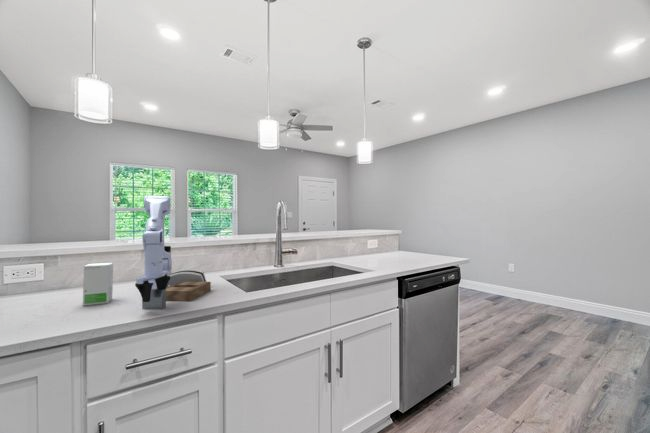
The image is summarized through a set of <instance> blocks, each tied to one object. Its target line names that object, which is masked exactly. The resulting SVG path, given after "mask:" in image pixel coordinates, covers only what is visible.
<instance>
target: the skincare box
mask: <svg viewBox="0 0 650 433" xmlns="http://www.w3.org/2000/svg"><path fill="white" fill-rule="evenodd" d="M113 279H114V263H113V262H104V263H103V262H98V263H96V262H95V263H88V264H85V265H84V266H83V279H82V280H83V285H82V287H83V289H82V290H83V291H82V306H84V307H85V306H93V305H102V304H104V305H105V304H108V303H110V302H111V301H112V300H113V288H114V287H113V285H114V284H113V283H114V280H113Z"/></svg>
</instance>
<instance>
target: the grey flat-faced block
mask: <svg viewBox="0 0 650 433" xmlns="http://www.w3.org/2000/svg"><path fill="white" fill-rule="evenodd" d="M141 302H142V303H141V307H142V310H143V309H144V310H148V309H149V310H150V309H151V310H163V309H166V307H167V301H166V289H151V296H150V301H149V302H143V300H142V299H141Z"/></svg>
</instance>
